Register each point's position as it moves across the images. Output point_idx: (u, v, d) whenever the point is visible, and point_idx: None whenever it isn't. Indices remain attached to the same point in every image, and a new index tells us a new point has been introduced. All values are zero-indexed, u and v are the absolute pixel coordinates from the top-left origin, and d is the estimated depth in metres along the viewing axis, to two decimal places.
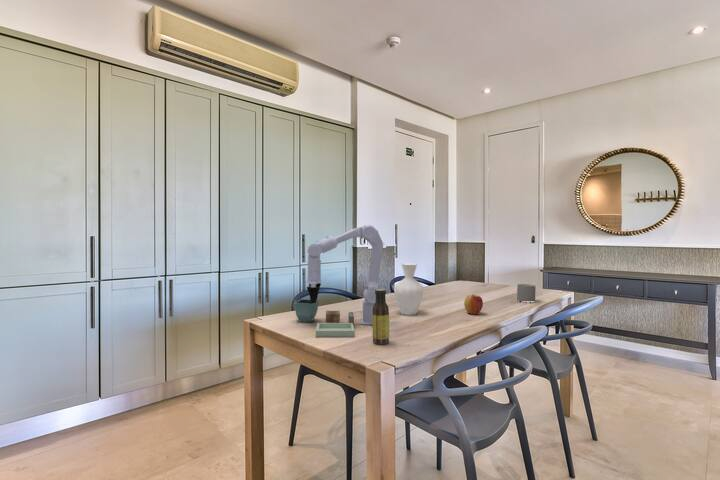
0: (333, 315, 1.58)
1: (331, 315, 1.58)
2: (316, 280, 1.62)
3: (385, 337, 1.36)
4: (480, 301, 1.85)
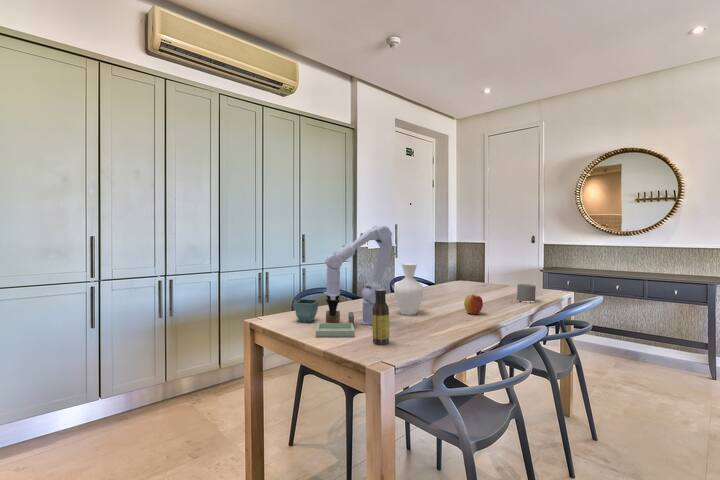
0: None
1: None
2: (335, 292, 1.59)
3: (385, 337, 1.36)
4: (480, 301, 1.85)
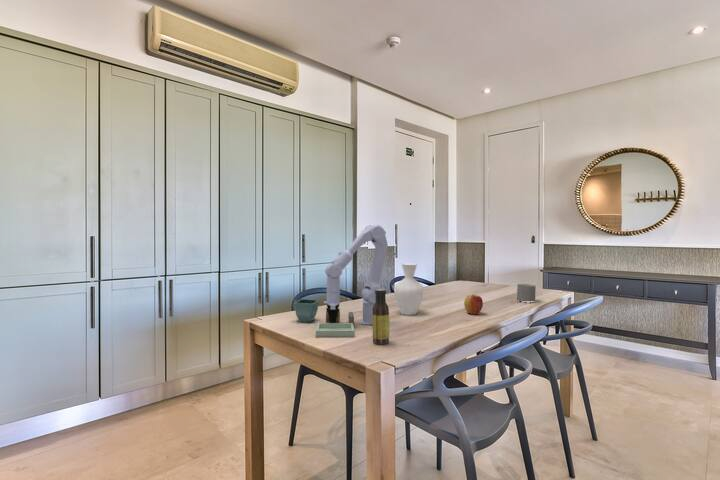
0: None
1: None
2: (335, 301, 1.59)
3: (385, 337, 1.36)
4: (480, 301, 1.85)
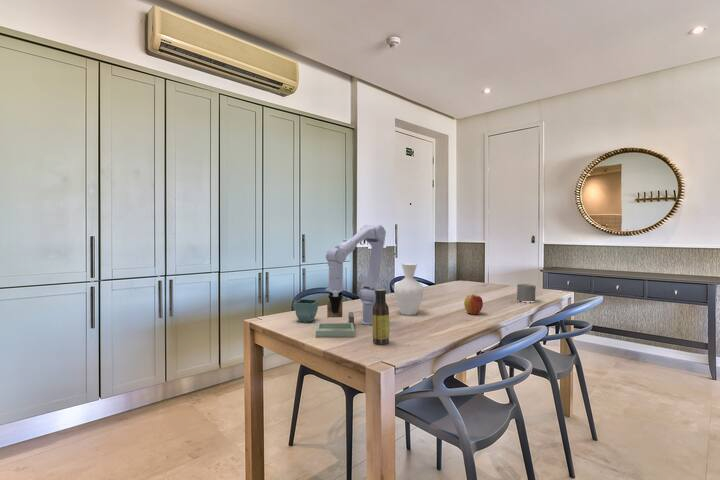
0: None
1: None
2: (338, 288, 1.48)
3: (385, 337, 1.36)
4: (480, 301, 1.85)
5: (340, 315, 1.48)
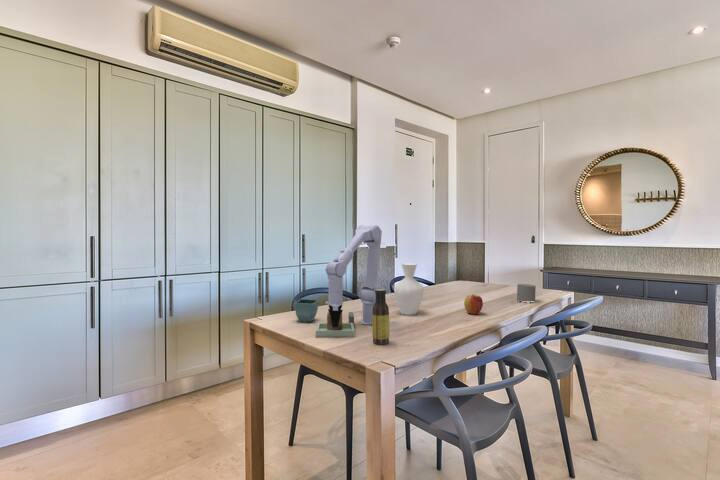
0: None
1: None
2: (338, 302, 1.48)
3: (385, 337, 1.36)
4: (480, 301, 1.85)
5: (340, 328, 1.48)
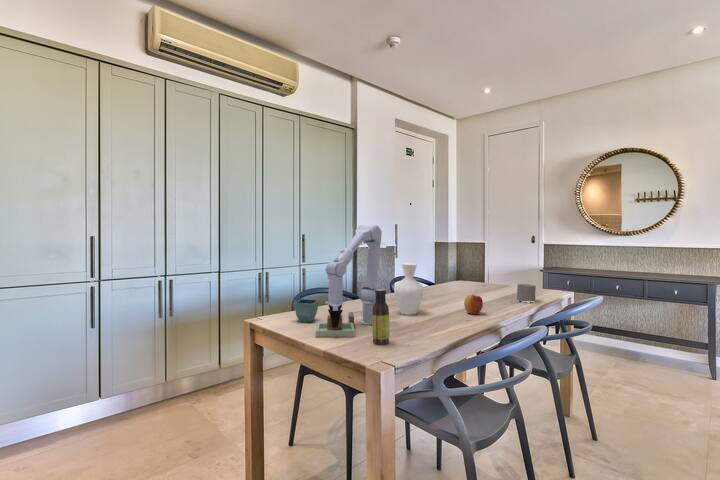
0: None
1: None
2: (338, 302, 1.48)
3: (385, 337, 1.36)
4: (480, 301, 1.85)
5: None
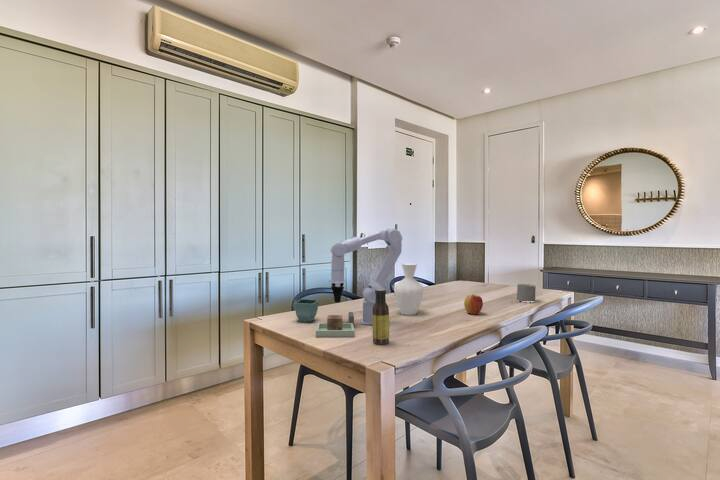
0: (335, 320, 1.47)
1: (333, 320, 1.47)
2: (340, 279, 1.62)
3: (385, 337, 1.36)
4: (480, 301, 1.85)
5: None
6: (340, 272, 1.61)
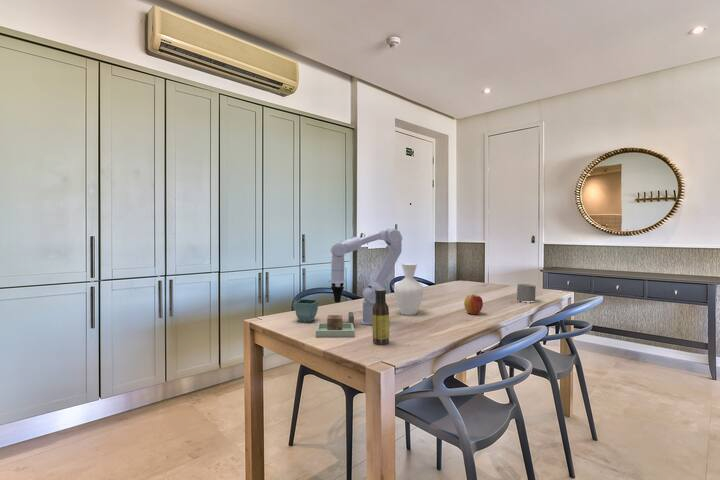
0: (335, 320, 1.47)
1: (333, 320, 1.47)
2: (340, 279, 1.62)
3: (385, 337, 1.36)
4: (480, 301, 1.85)
5: None
6: (340, 272, 1.61)
